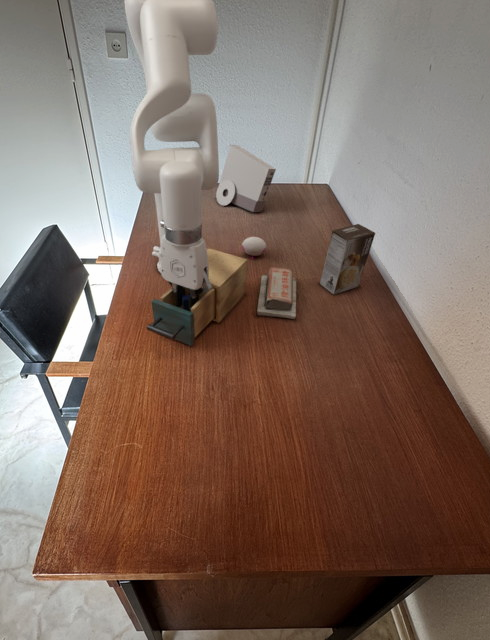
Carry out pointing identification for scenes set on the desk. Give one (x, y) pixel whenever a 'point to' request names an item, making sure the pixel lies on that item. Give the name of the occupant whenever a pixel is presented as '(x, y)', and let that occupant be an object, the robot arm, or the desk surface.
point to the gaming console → (244, 180)
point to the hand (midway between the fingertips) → (187, 306)
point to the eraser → (185, 302)
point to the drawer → (182, 316)
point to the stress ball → (254, 246)
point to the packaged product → (277, 294)
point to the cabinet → (226, 280)
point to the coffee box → (346, 258)
